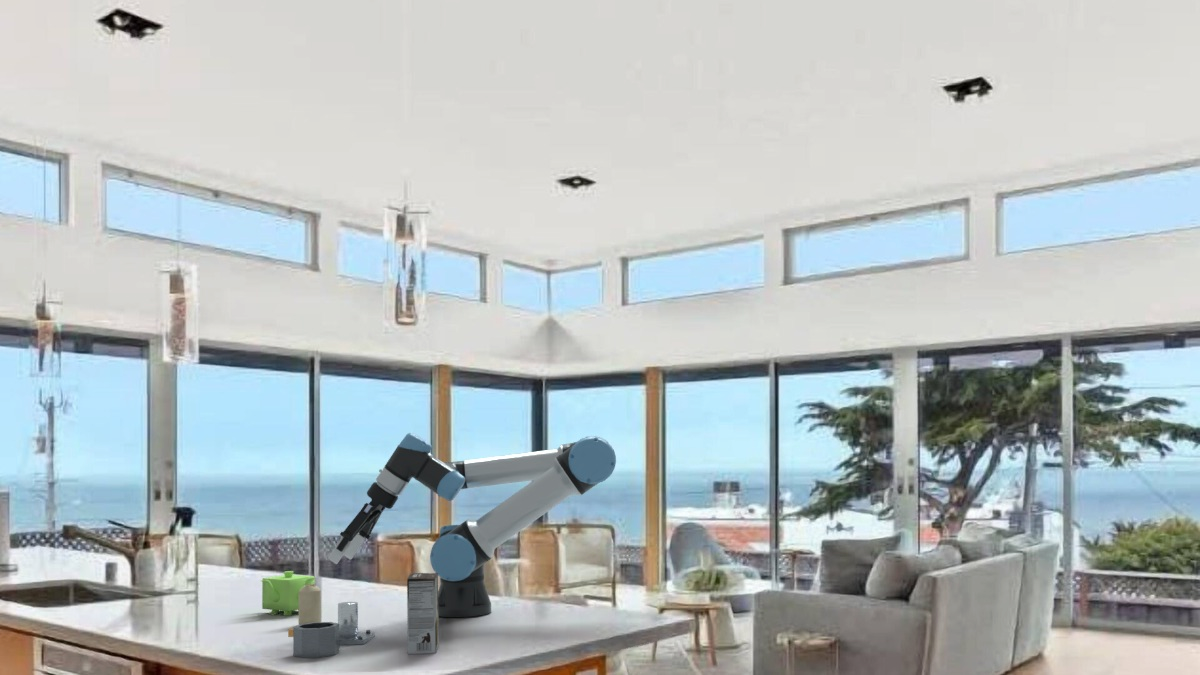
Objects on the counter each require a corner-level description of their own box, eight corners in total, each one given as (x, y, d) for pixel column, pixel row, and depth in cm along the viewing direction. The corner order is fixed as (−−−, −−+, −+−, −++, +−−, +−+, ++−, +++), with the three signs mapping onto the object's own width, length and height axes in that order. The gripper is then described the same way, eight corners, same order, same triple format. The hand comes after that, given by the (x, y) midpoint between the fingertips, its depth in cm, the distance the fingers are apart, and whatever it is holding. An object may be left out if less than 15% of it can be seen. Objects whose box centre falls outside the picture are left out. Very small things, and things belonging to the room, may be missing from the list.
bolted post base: (374, 636, 255) (374, 599, 256) (364, 644, 245) (364, 606, 246) (332, 637, 255) (332, 600, 256) (320, 645, 245) (320, 607, 246)
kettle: (315, 615, 290) (315, 572, 291) (260, 619, 286) (260, 576, 287) (315, 607, 304) (315, 566, 305) (263, 610, 301) (263, 569, 302)
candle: (314, 626, 271) (314, 586, 272) (294, 626, 272) (294, 586, 273) (324, 622, 277) (324, 583, 278) (304, 622, 278) (304, 583, 279)
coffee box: (410, 646, 241) (409, 573, 243) (439, 645, 242) (438, 572, 243) (406, 654, 232) (405, 578, 234) (436, 653, 233) (436, 577, 234)
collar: (342, 649, 240) (342, 621, 240) (331, 657, 231) (331, 628, 231) (295, 650, 240) (295, 622, 241) (282, 658, 231) (282, 629, 232)
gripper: (386, 480, 289) (340, 547, 287) (362, 481, 264) (313, 554, 263) (409, 495, 288) (363, 563, 287) (387, 498, 264) (338, 571, 262)
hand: (339, 559), depth 275 cm, fingers open, 13 cm apart
